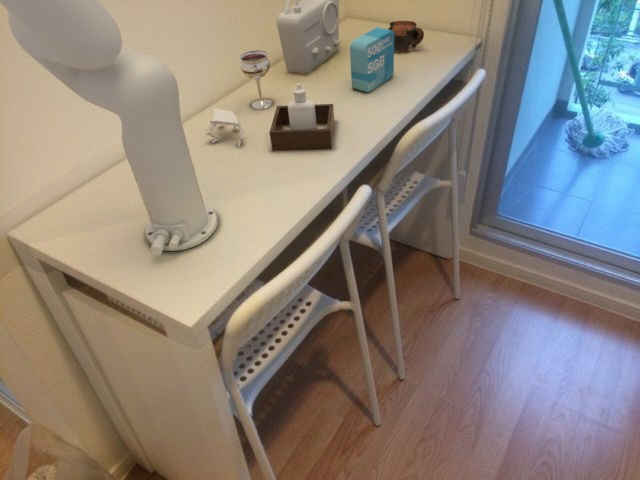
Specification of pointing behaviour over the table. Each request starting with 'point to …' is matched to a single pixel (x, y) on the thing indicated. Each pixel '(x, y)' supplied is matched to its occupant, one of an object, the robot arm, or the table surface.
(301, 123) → the eye dropper bottle
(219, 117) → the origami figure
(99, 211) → the table surface
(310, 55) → the radio
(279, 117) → the square wooden box frame
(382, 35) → the data package
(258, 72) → the wineglass
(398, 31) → the pottery mug
